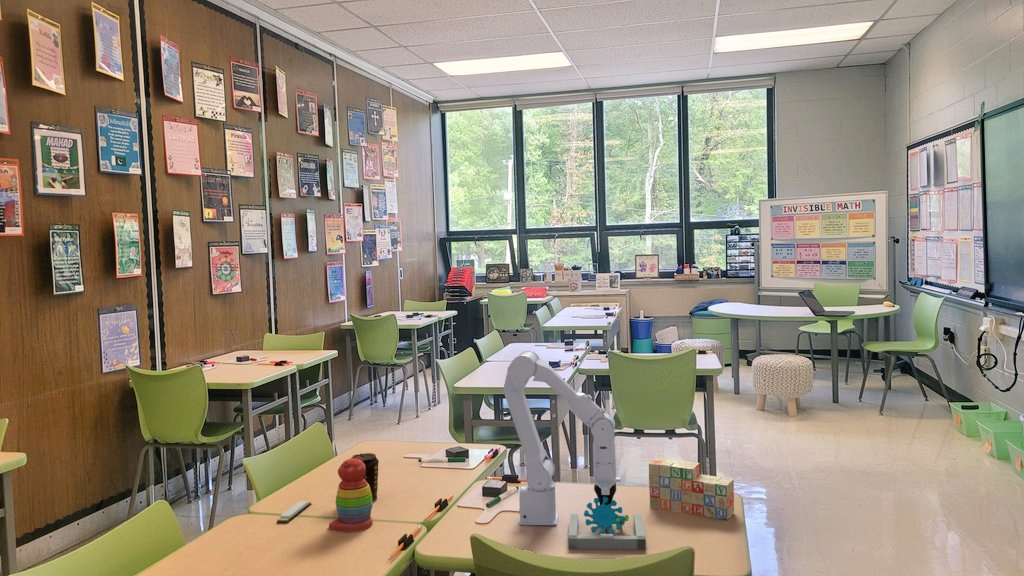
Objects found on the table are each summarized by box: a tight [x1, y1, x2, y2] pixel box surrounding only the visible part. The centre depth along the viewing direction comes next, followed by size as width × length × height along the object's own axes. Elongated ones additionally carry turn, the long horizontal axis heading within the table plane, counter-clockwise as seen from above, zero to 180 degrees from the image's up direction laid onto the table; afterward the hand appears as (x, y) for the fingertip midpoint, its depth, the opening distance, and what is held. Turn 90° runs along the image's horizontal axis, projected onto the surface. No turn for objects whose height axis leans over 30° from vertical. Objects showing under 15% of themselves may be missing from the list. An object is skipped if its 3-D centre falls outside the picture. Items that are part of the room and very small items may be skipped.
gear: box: [583, 497, 630, 536], centre depth 185 cm, size 11×6×10 cm
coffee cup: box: [351, 452, 380, 503], centre depth 211 cm, size 9×8×13 cm
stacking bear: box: [328, 457, 374, 533], centre depth 192 cm, size 11×10×18 cm
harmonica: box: [276, 500, 312, 525], centre depth 203 cm, size 15×3×2 cm, turn 170°
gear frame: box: [567, 513, 647, 551], centre depth 180 cm, size 18×16×3 cm
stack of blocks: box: [648, 457, 735, 520], centre depth 196 cm, size 21×6×12 cm, turn 56°
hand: (605, 513), depth 189 cm, fingers closed
